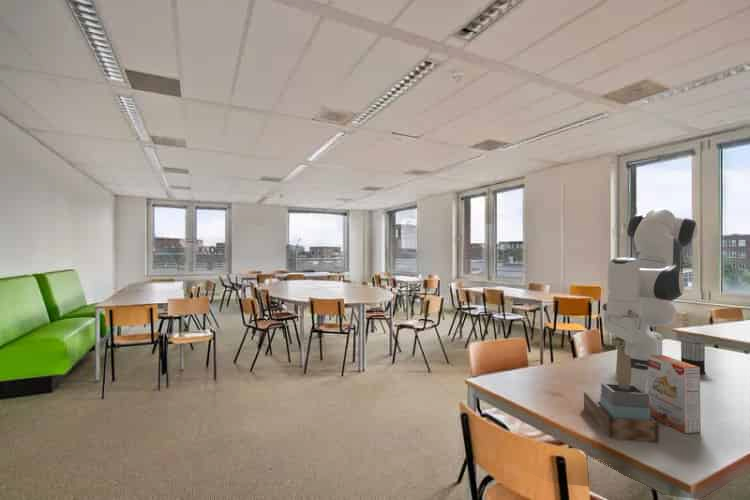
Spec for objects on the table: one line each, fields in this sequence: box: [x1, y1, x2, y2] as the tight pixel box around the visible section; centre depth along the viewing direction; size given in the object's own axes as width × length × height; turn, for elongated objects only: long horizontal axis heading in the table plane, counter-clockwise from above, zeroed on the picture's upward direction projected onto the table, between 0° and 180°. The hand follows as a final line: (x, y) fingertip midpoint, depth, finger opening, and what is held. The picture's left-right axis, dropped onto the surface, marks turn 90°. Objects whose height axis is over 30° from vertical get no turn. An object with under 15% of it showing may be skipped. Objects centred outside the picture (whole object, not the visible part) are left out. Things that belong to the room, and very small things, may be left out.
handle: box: [611, 337, 636, 390], centre depth 117 cm, size 5×6×15 cm
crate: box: [599, 382, 651, 421], centre depth 117 cm, size 10×10×12 cm
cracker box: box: [648, 354, 702, 435], centre depth 122 cm, size 14×6×21 cm, turn 5°
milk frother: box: [679, 337, 706, 375], centre depth 179 cm, size 14×16×15 cm
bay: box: [583, 391, 660, 444], centre depth 122 cm, size 13×22×6 cm, turn 169°
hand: (623, 352), depth 117 cm, fingers closed on handle, 4 cm apart
